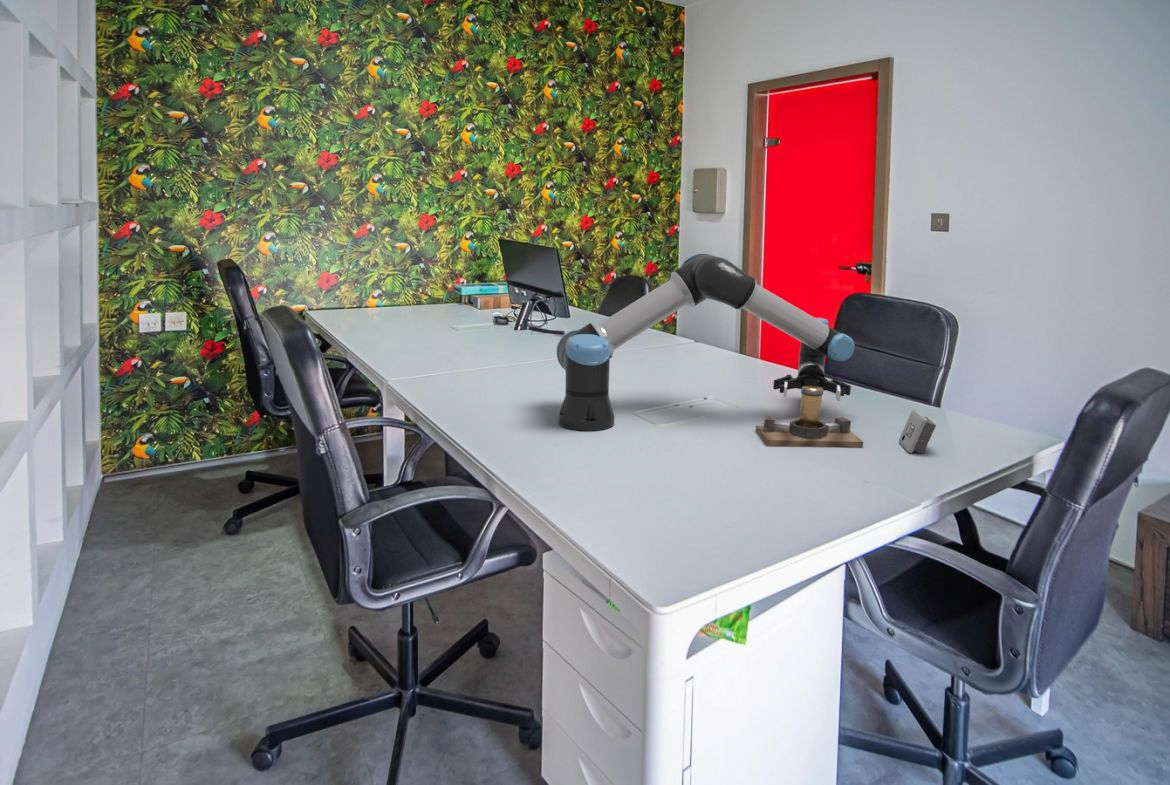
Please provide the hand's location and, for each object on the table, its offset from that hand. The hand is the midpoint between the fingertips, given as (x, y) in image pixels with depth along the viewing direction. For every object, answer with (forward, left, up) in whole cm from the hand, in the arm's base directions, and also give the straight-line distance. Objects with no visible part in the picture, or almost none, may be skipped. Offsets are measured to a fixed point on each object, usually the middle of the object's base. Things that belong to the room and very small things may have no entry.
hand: (811, 394), depth 204 cm
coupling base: (+2, -7, -10) cm, 13 cm away
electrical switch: (+26, +2, -10) cm, 28 cm away
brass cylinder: (+2, -7, -9) cm, 11 cm away
